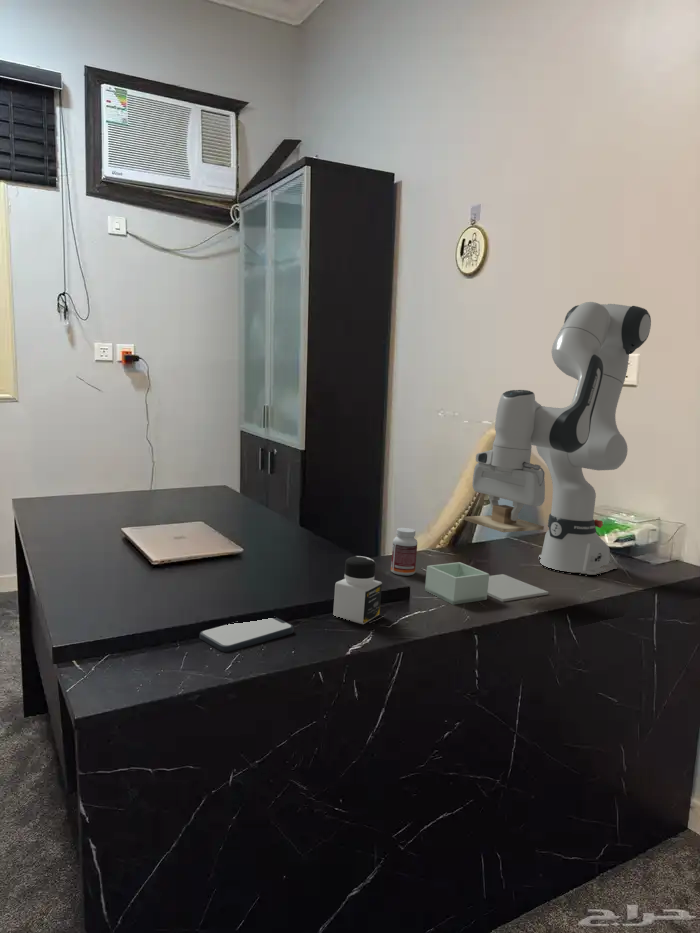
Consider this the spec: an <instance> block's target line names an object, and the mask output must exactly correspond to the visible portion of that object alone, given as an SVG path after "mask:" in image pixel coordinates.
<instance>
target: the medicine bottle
mask: <svg viewBox="0 0 700 933" xmlns="http://www.w3.org/2000/svg"><path fill="white" fill-rule="evenodd" d="M375 572H376V561H375V560H374V559H372V558H370V557H367V556H361V555H355V556H354V555H353V556H350V557H348V558H347V559H345V564H344V576H343V579H340V580H338V581H336V582H335V585H334V600H333V609H332V610H333V612H332V613H333V614H332V615H334V616H336V617H335V618H338V617H340V618H339V619H341V618H343V619H342V620H345V619H346V621H349V620H350V621H349V622H353V623H357V624H360V625H364V624H366V623H368V622H370V621H372V620H373V619H374V618H377V617H378V616H379V615H380V610H381V598H382V588H383V587H382V585H383V582H382V581H380V580H376V579H375V574H376V573H375ZM334 616H333V617H334Z"/></svg>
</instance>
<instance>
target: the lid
mask: <svg viewBox="0 0 700 933" xmlns="http://www.w3.org/2000/svg"><path fill="white" fill-rule="evenodd" d="M513 508H514V506H510V505H508V504H499V505H493V511H492V510H491V512H492V514H490V515H489V514H488V515H472V516H464V517H463V520H464V521H466V522H470V523H471V524H476V525H479V526H481V527H485V528H488V529H491V530H494V531H498V532H501V533H512V532H513V533H514V532H516V533H517V532H530V531H540V530H541V531H543V530H544V527H545V526H543V525H540V524H537V523H534V522H530V521H527V520H523V519H521V518H518V520H517V521H512V520H509V519H508V512H512V510H513Z"/></svg>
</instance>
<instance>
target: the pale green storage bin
mask: <svg viewBox="0 0 700 933" xmlns="http://www.w3.org/2000/svg"><path fill="white" fill-rule="evenodd" d="M489 576H490V574H489V573H488V572H486V571H483V570H480V569H479V568H478V569H477V568H475V567H473V566H471V565H468V564H465V563H463V562H460V561H458V562H448V563H441V564H431V565H427V566H426V574H425V582H424V583H425V584H424V585H425V586H424V592H426V591H427V593H428V592H429V593H428V594H430V593H431V594H430V595H432V594H433V595H432V596H434V595H435V596H434V597H436V596H437V598H438V599H440V600H443V601H444V602H447V603H448V604H451V605H453V606H455V605H460V604H468V603H472V602H473V603H474V602H479V601H480V602H481V601H485V600H487V599H488V595H487V592H488V582H489Z"/></svg>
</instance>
